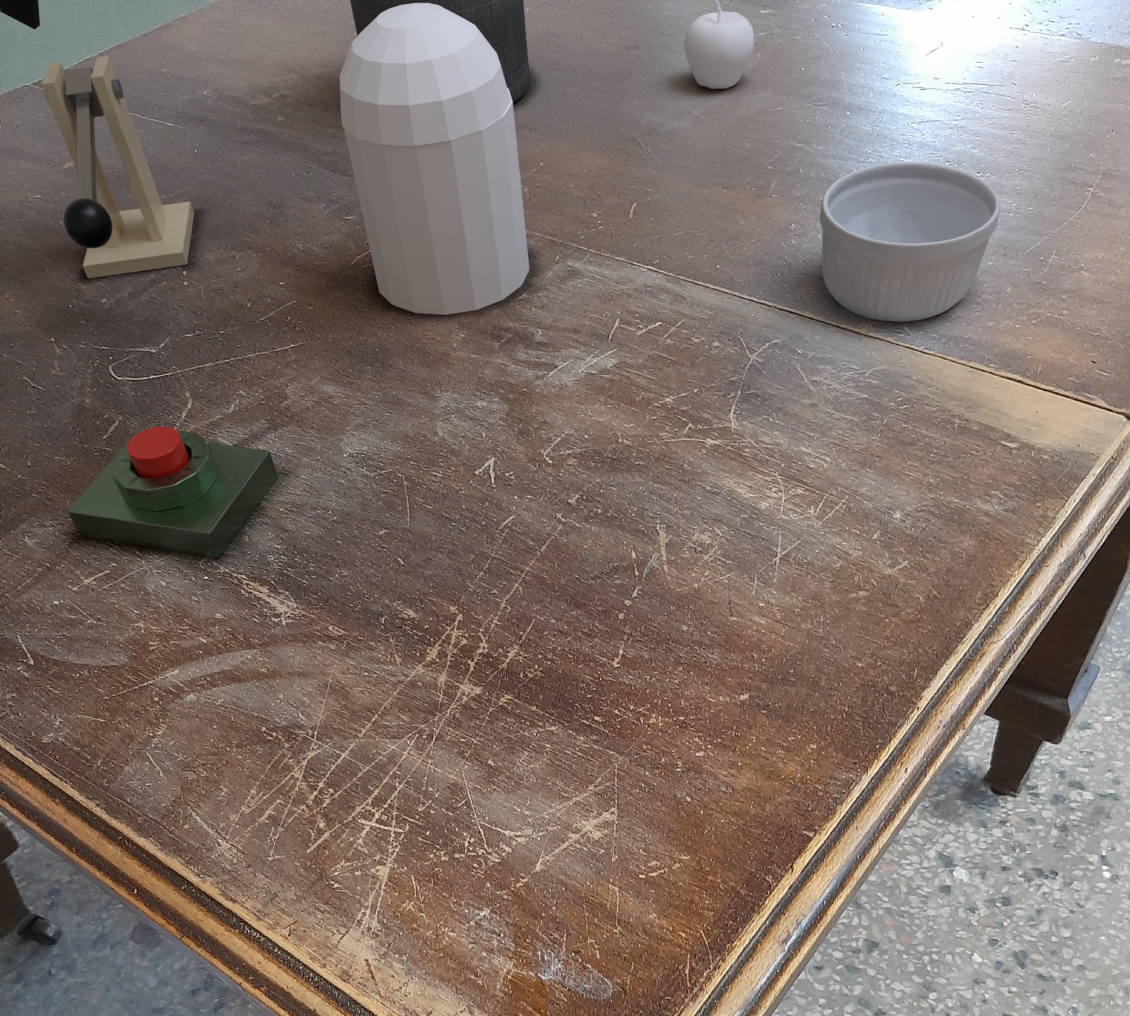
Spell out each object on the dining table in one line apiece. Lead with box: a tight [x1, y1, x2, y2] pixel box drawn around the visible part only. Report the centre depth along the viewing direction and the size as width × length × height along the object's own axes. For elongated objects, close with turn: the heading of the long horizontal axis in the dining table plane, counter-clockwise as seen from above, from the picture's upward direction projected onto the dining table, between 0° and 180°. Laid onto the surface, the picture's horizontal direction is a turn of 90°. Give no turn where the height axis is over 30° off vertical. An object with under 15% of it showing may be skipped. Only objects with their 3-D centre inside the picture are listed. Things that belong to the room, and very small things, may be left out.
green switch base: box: [67, 429, 279, 559], centre depth 75 cm, size 11×9×4 cm
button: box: [127, 425, 189, 479], centre depth 73 cm, size 4×4×2 cm
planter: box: [349, 0, 532, 104], centre depth 112 cm, size 18×18×16 cm
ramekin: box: [819, 161, 1001, 323], centre depth 85 cm, size 13×13×7 cm
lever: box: [63, 66, 113, 249], centre depth 89 cm, size 17×4×4 cm, turn 8°
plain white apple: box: [684, 0, 755, 90], centre depth 111 cm, size 7×7×8 cm
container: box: [339, 3, 530, 316], centre depth 86 cm, size 13×13×20 cm
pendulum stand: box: [41, 55, 195, 279], centre depth 95 cm, size 10×9×15 cm
